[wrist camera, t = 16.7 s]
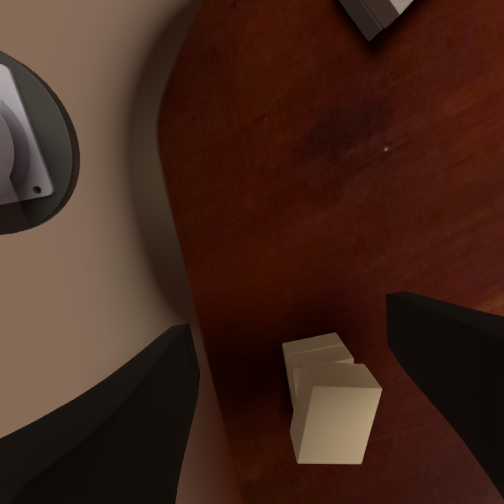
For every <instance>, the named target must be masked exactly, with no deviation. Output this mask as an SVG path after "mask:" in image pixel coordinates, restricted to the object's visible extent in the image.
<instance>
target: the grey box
mask: <svg viewBox="0 0 504 504" xmlns="http://www.w3.org/2000/svg"><path fill="white" fill-rule="evenodd" d="M339 1H340V3H341V4H342V6H343V7H344V8H345V10H346V11H347V13H348V14H349V15H350V17H351V18H352V20H353V21H354V22H355V24H356V25H357V26H358V28H359V29H360V31H361V32H362V33H363V35H364V36H365V38H366V39H367V40H368V41H370V40H371V39H372V38H373V37H374V36H376V35H377V34H378V33H379V32H380V31H381V30H382V29H383V28H386V27H388V26H389V25H390V24H391V23H392V22H393V21H394V20H395V19H396V18H397V17H398V16H399V15H401V13H402V12H403V11H404V10H405V9H406V8H407V7H408V6H409V4H410V3H411V2H412V1H413V0H339Z"/></svg>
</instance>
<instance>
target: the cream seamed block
mask: <svg viewBox="0 0 504 504" xmlns="http://www.w3.org/2000/svg"><path fill="white" fill-rule="evenodd" d="M282 348H283V354H284V359H285V365H286V371H287V377H288V383H289V389H290V394H291V400H292V405H293V409H294V407H295V401H296V396H297V391H298V386H299V380H300V375H301V370H302V364H303V361H312V362H332V363H351V364H354V358H353V357H352V355H351V354H350V352H349V351H348V349H347V348H346V347H345V345H343V342H342V341H341V339H340V338H339V337H338V335H337V334H336V333H330V334H325V335H320V336H316V337H311V338H306V339H301V340H296V341H292V342H287V343H282Z"/></svg>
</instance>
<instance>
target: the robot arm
mask: <svg viewBox="0 0 504 504" xmlns="http://www.w3.org/2000/svg"><path fill="white" fill-rule="evenodd" d="M38 186H39V187H40V188H41V193H39V192H38V191H37V187H38ZM54 193H55V186H54V183H53V180H52V178H51V175H50V172H49V169H48V167H47V164H46V161H45V158H44V156H43V153H42V150H41V147H40V145H39V142H38V139H37V136H36V134H35V131H34V128H33V125H32V123H31V120H30V117H29V114H28V112H27V109H26V106H25V103H24V101H23V98H22V95H21V92H20V90H19V87H18V84H17V81H16V79H15V76H14V73H13V72H12V70H11V69H10V68H9V67H7V66H4V65H2V64H0V205H2V204H7V203H12V202H18V201H23V200H29V199H34V198H40V197H45V196H50V195H53V194H54ZM386 303H387V340H388V346H389V347H390V349H391V351H392V352H393V354H394V356H395V357H396V359H397V360H398V362H399V363H400V365H401V366H402V368H403V369H404V370H405V371H406V373H407V374H408V375H409V376H410V378H411V379H412V380H413V381H414V382H415V384H416V385H417V386H418V387H419V388H420V389H421V391H422V392H423V393H424V394H425V395H426V396H427V398H428V399H429V400H430V401H431V402H432V404H433V405H434V406H435V407H436V408H437V409H438V411H439V412H440V413H441V414H442V415H443V416H444V418H445V419H446V420H447V421H448V422H449V423H450V425H451V426H452V427H453V428H454V430H455V431H456V432H457V433H458V435H459V436H460V437H461V439H462V440H463V441H464V443H465V444H466V445H467V447H468V448H469V450H470V451H471V452H472V454H473V455H474V457H475V458H476V460H477V461H478V462H479V464H480V465H481V467H482V468H483V469H484V471H485V472H486V474H487V475H488V477H489V478H490V480H491V481H492V482H493V484H494V485H495V487H496V488H497V490H498V491H499V493H500V494H501V496H502V497H503V499H504V317H503V316H499V315H495V314H490V313H486V312H482V311H478V310H474V309H470V308H467V307H463V306H459V305H455V304H452V303H448V302H444V301H441V300H437V299H433V298H430V297H426V296H422V295H418V294H413V293H408V292H399V293H392V294H386ZM199 378H200V370H199V365H198V361H197V356H196V352H195V348H194V343H193V338H192V333H191V329H190V324H184V325H177V326H172V327H171V328H169V329H168V330H166V331H165V332H164V333H163V334H161V335H160V336H159V337H158V338H157V339H155V340H154V341H153V342H152V343H151V344H149V345H148V346H147V347H146V348H145V349H143V350H142V351H141V352H140V353H138V354H137V355H136V356H135V357H134V358H132V359H131V360H130V361H128V362H127V363H126V364H124V365H123V366H122V367H121V368H119V369H118V370H117V371H115V372H114V373H113V374H111V375H110V376H108V377H107V378H106V379H104V380H103V381H101V382H100V383H98V384H97V385H95V386H94V387H92V388H91V389H89V390H88V391H86V392H85V393H83V394H81V395H80V396H78V397H77V398H75V399H74V400H72V401H70V402H69V403H66V404H65V405H63V406H61V407H60V408H58V409H56V410H54V411H52V412H50V413H49V414H47V415H45V416H43V417H42V418H40V419H38V420H36V421H34V422H32V423H30V424H29V425H27V426H25V427H23V428H21V429H19V430H17V431H15V432H13V433H11V434H9V435H7V436H5V437H2V438H0V504H175V502H176V495H177V488H178V481H179V476H180V471H181V466H182V462H183V458H184V453H185V449H186V444H187V441H188V436H189V432H190V428H191V424H192V419H193V416H194V411H195V407H196V402H197V397H198V389H199Z"/></svg>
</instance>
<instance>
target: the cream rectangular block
mask: <svg viewBox="0 0 504 504" xmlns="http://www.w3.org/2000/svg"><path fill="white" fill-rule="evenodd" d="M381 391H382V388H381V387H380V385H379V384H378V383H377V381H376V380H375V378H374V377H373V376H372V374H371V373H370V371H369V370H368V369H367V367H366V366H365V365H364V364H351V363H332V362H312V361H303V364H302V370H301V375H300V380H299V386H298V391H297V396H296V401H295V407H294V412H293V417H292V423H291V428H290V435H291V439H292V443H293V447H294V451H295V455H296V459H297V463H299V464H361V463H362V459H363V456H364V452H365V449H366V445H367V441H368V438H369V434H370V431H371V427H372V423H373V420H374V416H375V413H376V409H377V406H378V402H379V398H380V395H381Z"/></svg>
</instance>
